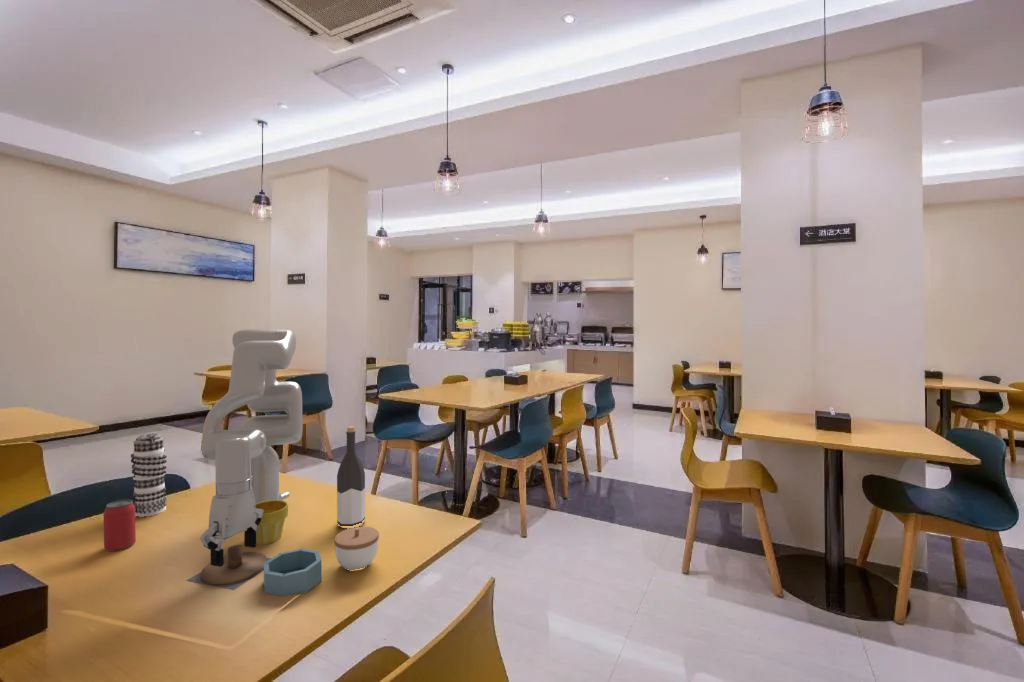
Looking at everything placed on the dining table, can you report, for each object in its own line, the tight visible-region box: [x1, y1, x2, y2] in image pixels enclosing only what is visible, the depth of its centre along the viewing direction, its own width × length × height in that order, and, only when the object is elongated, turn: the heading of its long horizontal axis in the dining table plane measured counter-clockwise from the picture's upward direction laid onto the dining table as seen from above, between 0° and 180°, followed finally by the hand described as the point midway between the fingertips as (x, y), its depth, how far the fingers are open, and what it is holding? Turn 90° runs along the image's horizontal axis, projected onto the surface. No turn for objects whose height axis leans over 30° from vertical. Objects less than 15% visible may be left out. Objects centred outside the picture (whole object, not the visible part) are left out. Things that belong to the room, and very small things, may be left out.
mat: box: [186, 557, 272, 591], centre depth 114 cm, size 14×14×1 cm
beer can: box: [102, 499, 137, 552], centre depth 126 cm, size 7×7×12 cm
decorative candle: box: [130, 433, 168, 518], centre depth 150 cm, size 9×9×25 cm
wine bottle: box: [336, 425, 366, 526], centre depth 141 cm, size 8×8×30 cm
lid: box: [200, 544, 268, 586], centre depth 114 cm, size 14×14×6 cm
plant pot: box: [255, 500, 289, 545], centre depth 130 cm, size 10×10×10 cm
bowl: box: [263, 548, 323, 597], centre depth 109 cm, size 12×12×5 cm
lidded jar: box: [334, 526, 380, 570], centre depth 117 cm, size 11×11×9 cm
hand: (234, 555), depth 113 cm, fingers open, 9 cm apart
